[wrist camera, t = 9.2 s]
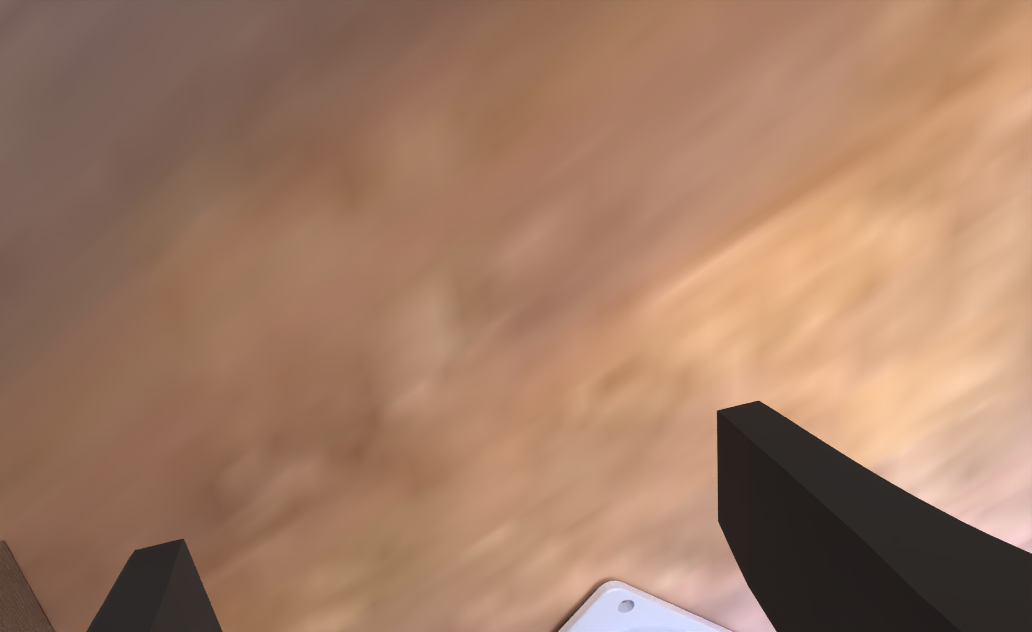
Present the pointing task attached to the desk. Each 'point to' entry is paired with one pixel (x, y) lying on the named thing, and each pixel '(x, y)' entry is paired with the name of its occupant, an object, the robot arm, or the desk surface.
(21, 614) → the jack panel
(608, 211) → the desk surface
